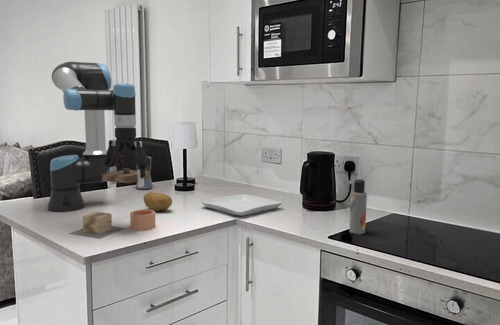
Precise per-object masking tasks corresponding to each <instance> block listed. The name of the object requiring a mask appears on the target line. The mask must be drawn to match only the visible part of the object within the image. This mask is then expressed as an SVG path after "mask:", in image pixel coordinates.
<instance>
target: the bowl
mask: <svg viewBox="0 0 500 325" xmlns="http://www.w3.org/2000/svg"><path fill="white" fill-rule="evenodd" d="M129 218H130V222H129V224H130V229H131V230H134V231H148V230H153V229H154V228H156V225H157V224H156V211H153V210H151V209H137V210H133V211H131V212H130V213H129Z"/></svg>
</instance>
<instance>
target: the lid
mask: <svg viewBox="0 0 500 325" xmlns="http://www.w3.org/2000/svg"><path fill="white" fill-rule="evenodd" d="M150 175H151V171H150V172H148V171H145V178H144V180H145V179H149V178H150ZM102 181H104V182H109V183H110V182H117V183H122V184H133V183H137V181H138V176H137V170H134V169H133V170H132V169H130V168H129V167H127V168H126V167H125V168H122V169H121V170H116V172H110V173H105V174H102Z"/></svg>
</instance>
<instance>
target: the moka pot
mask: <svg viewBox="0 0 500 325" xmlns="http://www.w3.org/2000/svg"><path fill="white" fill-rule="evenodd" d="M146 156H147V155H146ZM147 158H148V161H149V164H150V167H148V168H146V169H145V171H148V172H150V173H151V171H152V170H151V169H152V158H153V157H151V156H147ZM135 166H136V168H135V169H136V171H137V170H138V169H139V167H138V166H137V164H136V163H135ZM135 186H136V187H135V188H136V190H148V189H153V181H152V176H151V174H150V178H149V179H145V180H144V187H140V188H139V187H138V181H137V182H136V184H135Z"/></svg>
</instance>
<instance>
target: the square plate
mask: <svg viewBox="0 0 500 325" xmlns="http://www.w3.org/2000/svg"><path fill="white" fill-rule="evenodd" d="M200 203H201V205H203V206H204V207H206V208H208V209H212V210H216V211H219V212H223V213H225V214H229V215H234V216H237V215H239V217H241V216H242V217H243V216H244V215H246V216H250V215H254V214H253V213H255V214H258V213H257V212H259V213H262V212H261V211H263V212H266V211H265V210H267V211H270V210H272V209H276V208H278V207H280V206H281V205H282V204H283V202H282V201H278V200H275V199H270V198H266V197H262V196H255V195H250V194H243V193H242V194H234V195H227V196H221V197H215V198H212V199H206V200H202V201H200ZM269 209H270V210H269ZM249 214H250V215H249Z"/></svg>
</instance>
